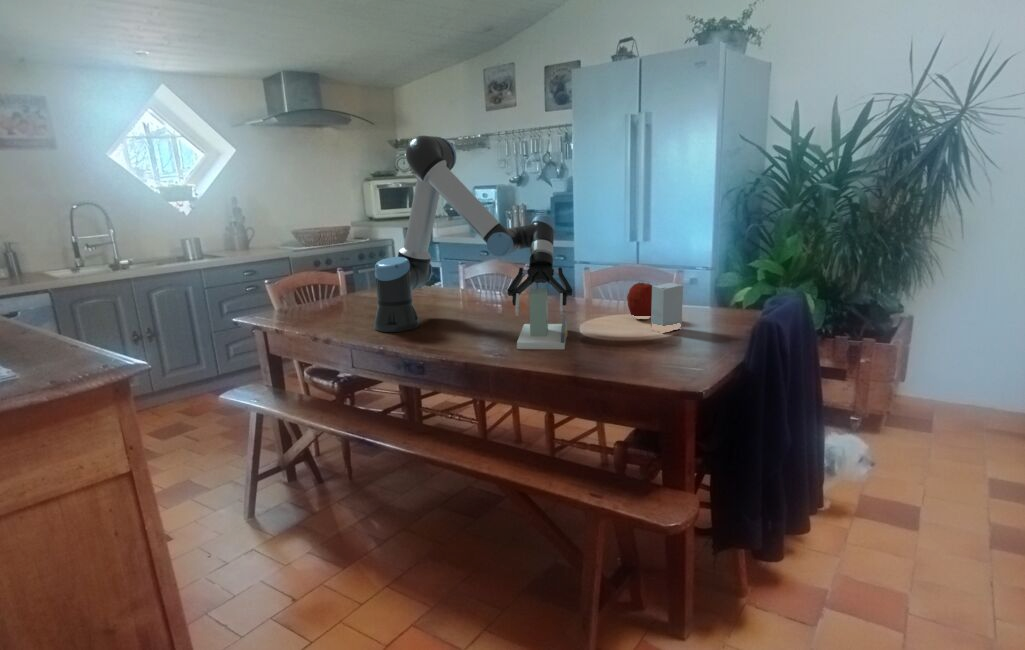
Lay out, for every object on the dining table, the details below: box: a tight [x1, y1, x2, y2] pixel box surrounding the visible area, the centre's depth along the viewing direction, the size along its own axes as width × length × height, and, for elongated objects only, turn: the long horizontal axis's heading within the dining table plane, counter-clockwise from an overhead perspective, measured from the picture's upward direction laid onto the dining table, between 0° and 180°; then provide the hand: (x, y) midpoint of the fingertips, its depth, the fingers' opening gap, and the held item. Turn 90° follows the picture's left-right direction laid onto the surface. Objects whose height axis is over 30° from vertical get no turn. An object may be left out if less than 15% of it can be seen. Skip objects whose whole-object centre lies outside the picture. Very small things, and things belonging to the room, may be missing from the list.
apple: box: [626, 282, 653, 316], centre depth 203 cm, size 10×10×14 cm
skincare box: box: [650, 282, 684, 326], centre depth 188 cm, size 8×6×15 cm
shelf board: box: [516, 314, 568, 350], centre depth 184 cm, size 15×22×5 cm, turn 173°
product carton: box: [528, 288, 549, 336], centre depth 183 cm, size 5×8×13 cm, turn 174°
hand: (538, 313), depth 180 cm, fingers open, 13 cm apart
